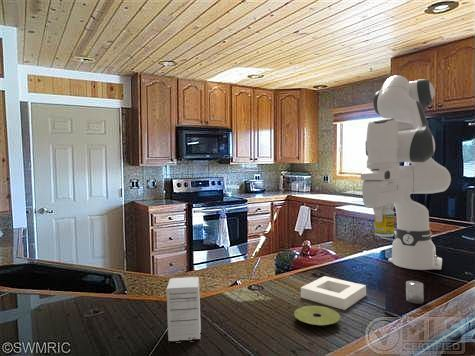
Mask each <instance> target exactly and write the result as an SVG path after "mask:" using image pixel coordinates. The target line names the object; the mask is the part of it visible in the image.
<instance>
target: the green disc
mask: <svg viewBox="0 0 475 356" xmlns="http://www.w3.org/2000/svg"><path fill="white" fill-rule="evenodd" d="M293 315H294V317H295V318H296V319H297V320H298V321H300V322H303V323H306V324H309V325H316V326H327V325H333V324H335V323H338V322H339V321H340V319H341V315H340V313H339V312H337V310H334V309H332V308H331V307H326V306H322V305H304V306H301V307H299V308H297V309H295V310H294V313H293Z"/></svg>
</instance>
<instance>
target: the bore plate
mask: <svg viewBox="0 0 475 356" xmlns="http://www.w3.org/2000/svg"><path fill="white" fill-rule="evenodd" d="M366 296H367V285H366V284H362V283H356V282H352V281H348V280H343V279H339V278H335V277H331V276H325V275H324V276H322V277H319V278H318V279H315V280H313V281H311V282H309V283H307V284H305V285H303V286H300V298H301V299H305V300H309V301H312V302H315V303H319V304H322V305H326V306H330V307H332V308H336V309H340V310H343V311H345V310H347V309H348V308H351V306H353V305H355V304H356V303H358V302H359V301H360V300H362V299H363V298H365V297H366Z"/></svg>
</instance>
